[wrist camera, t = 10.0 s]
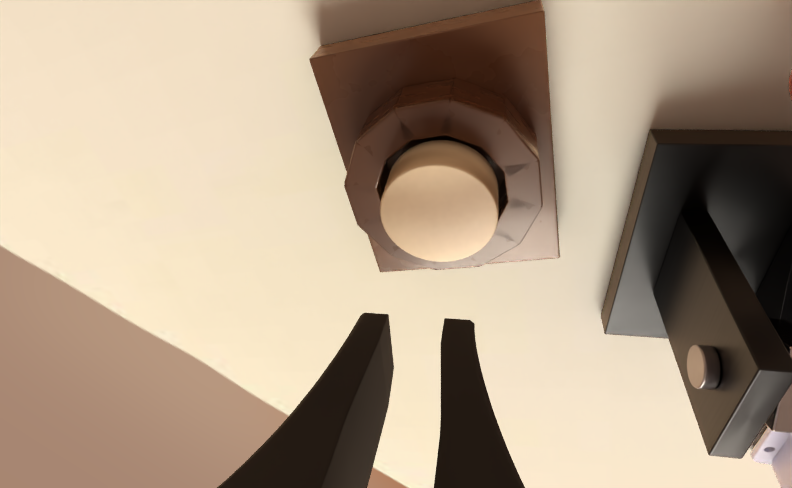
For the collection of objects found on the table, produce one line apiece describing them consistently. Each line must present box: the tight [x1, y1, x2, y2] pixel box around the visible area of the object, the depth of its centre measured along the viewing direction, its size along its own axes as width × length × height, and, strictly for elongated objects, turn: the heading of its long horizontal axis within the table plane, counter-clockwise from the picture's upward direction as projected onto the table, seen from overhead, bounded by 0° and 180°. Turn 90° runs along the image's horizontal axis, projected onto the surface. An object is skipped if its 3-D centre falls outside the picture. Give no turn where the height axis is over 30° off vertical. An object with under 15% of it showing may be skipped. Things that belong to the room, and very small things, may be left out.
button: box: [380, 140, 499, 262], centre depth 18 cm, size 4×4×2 cm
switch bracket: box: [601, 130, 792, 459], centre depth 18 cm, size 10×8×9 cm
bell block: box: [310, 0, 560, 272], centre depth 19 cm, size 10×8×4 cm
